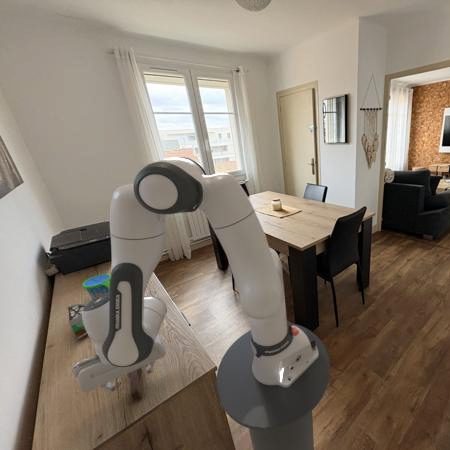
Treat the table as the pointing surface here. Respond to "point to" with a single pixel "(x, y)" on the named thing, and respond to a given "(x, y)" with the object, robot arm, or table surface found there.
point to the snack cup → (98, 285)
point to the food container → (77, 320)
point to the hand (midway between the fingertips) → (132, 380)
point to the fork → (135, 383)
